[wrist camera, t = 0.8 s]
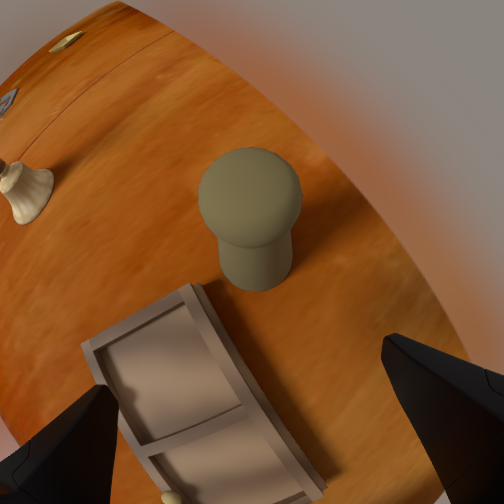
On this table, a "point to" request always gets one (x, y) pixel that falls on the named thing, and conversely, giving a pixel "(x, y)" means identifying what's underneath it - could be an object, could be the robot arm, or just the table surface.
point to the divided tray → (198, 408)
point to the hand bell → (25, 189)
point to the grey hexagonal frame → (9, 98)
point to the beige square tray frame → (65, 42)
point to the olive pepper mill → (252, 215)
